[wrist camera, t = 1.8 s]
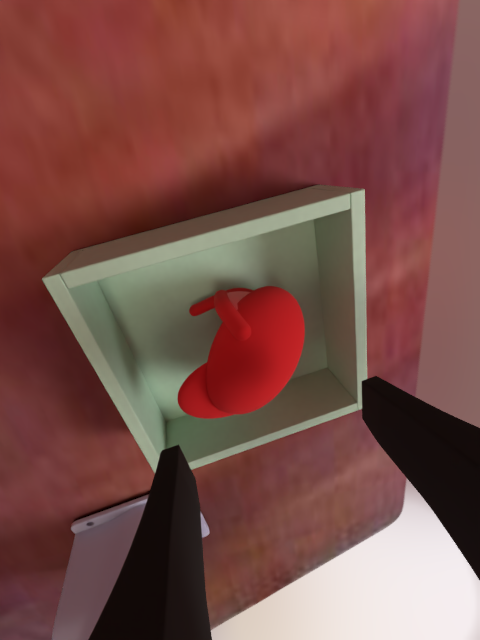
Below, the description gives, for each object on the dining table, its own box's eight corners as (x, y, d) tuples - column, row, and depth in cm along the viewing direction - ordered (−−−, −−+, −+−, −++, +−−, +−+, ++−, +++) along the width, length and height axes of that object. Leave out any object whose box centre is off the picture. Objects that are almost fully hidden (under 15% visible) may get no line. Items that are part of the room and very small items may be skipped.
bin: (159, 427, 22) (159, 481, 18) (70, 251, 15) (40, 278, 12) (334, 368, 23) (367, 407, 19) (319, 184, 17) (365, 188, 13)
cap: (236, 245, 17) (270, 279, 12) (303, 303, 20) (354, 352, 14) (152, 346, 18) (148, 416, 13) (224, 387, 21) (245, 459, 16)
